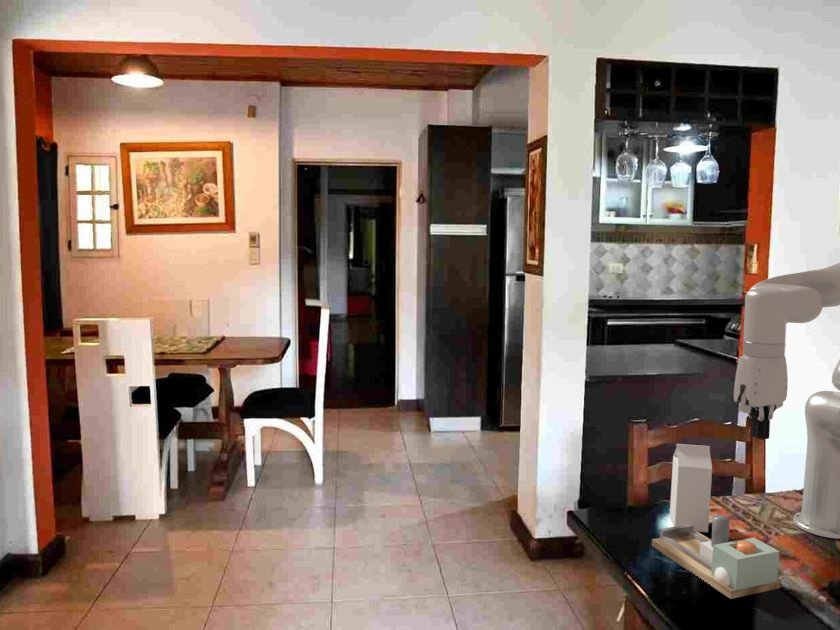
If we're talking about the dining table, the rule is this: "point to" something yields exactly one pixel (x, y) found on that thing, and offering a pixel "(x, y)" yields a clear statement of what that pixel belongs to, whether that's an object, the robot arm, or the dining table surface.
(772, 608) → the dining table surface
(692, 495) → the milk carton
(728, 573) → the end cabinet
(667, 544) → the track
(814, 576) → the dining table surface
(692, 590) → the dining table surface
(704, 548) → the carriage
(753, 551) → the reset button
